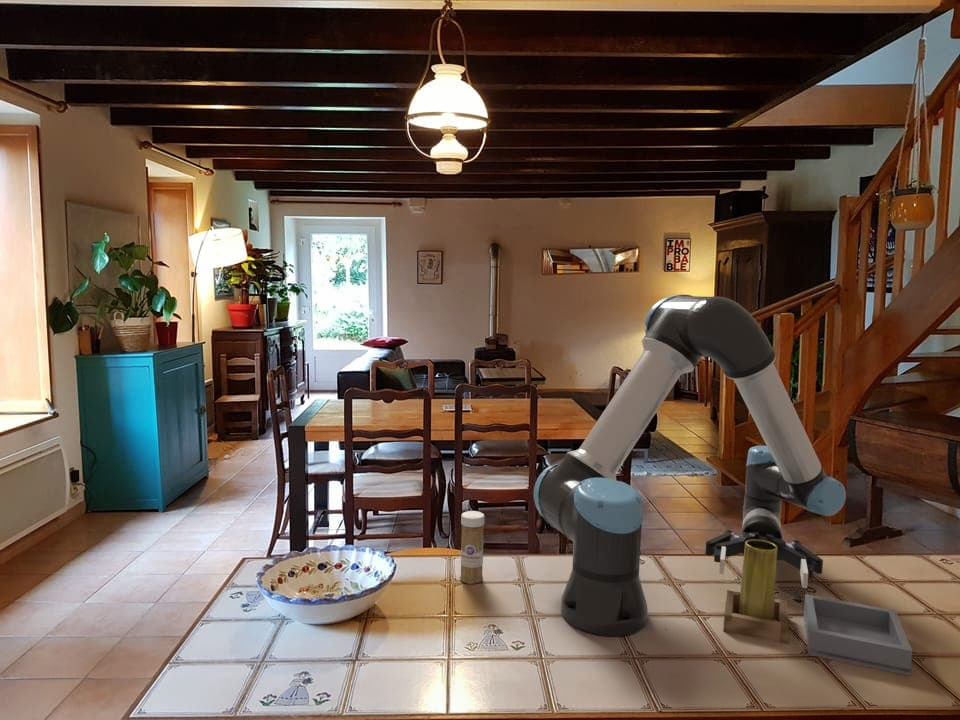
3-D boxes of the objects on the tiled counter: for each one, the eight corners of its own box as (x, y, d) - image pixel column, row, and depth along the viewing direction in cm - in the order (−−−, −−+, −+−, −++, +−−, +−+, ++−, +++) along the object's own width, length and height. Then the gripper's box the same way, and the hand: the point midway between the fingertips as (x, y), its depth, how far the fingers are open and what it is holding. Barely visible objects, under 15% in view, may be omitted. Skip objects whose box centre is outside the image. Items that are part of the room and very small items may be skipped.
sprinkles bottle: (460, 585, 130) (461, 518, 128) (459, 574, 134) (460, 510, 133) (484, 584, 130) (485, 518, 129) (482, 574, 135) (483, 510, 133)
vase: (775, 620, 118) (781, 542, 117) (772, 635, 113) (779, 553, 112) (739, 612, 121) (744, 535, 120) (734, 626, 116) (740, 546, 114)
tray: (808, 654, 107) (810, 631, 107) (803, 615, 120) (805, 594, 120) (909, 675, 102) (912, 651, 102) (893, 632, 115) (895, 610, 114)
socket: (723, 631, 114) (724, 614, 114) (726, 605, 123) (727, 590, 123) (787, 644, 110) (788, 627, 110) (785, 616, 120) (786, 601, 119)
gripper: (828, 560, 133) (840, 607, 114) (697, 540, 143) (688, 580, 123) (831, 524, 132) (844, 565, 113) (699, 506, 142) (690, 541, 122)
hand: (762, 573), depth 118 cm, fingers open, 13 cm apart
